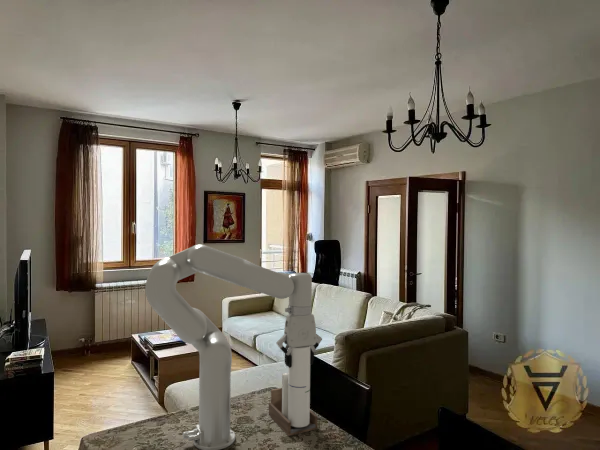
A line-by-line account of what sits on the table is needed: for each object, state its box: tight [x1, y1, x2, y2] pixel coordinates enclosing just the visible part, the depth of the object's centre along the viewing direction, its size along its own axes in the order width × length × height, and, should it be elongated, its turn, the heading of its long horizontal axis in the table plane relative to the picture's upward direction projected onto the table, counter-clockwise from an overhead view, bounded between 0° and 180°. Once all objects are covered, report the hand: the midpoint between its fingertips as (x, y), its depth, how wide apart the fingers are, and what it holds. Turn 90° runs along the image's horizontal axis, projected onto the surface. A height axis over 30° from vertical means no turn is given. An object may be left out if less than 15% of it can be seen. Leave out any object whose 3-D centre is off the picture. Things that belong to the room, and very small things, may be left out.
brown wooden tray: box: [268, 387, 319, 437], centre depth 136 cm, size 11×17×9 cm, turn 26°
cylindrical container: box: [287, 346, 311, 427], centre depth 132 cm, size 7×7×25 cm
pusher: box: [281, 372, 288, 419], centre depth 135 cm, size 8×1×16 cm, turn 116°
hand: (299, 364), depth 132 cm, fingers closed on cylindrical container, 7 cm apart
